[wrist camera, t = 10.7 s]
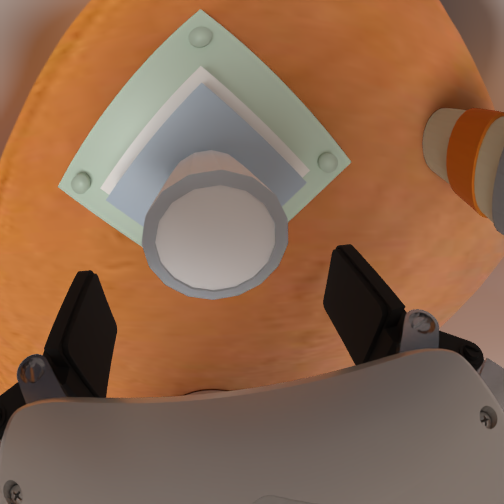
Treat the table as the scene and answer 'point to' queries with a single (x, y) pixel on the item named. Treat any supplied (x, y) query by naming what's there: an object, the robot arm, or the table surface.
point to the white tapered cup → (214, 228)
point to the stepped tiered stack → (200, 129)
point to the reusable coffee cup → (469, 157)
